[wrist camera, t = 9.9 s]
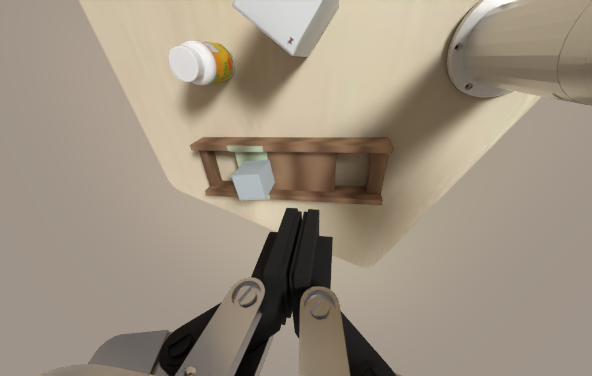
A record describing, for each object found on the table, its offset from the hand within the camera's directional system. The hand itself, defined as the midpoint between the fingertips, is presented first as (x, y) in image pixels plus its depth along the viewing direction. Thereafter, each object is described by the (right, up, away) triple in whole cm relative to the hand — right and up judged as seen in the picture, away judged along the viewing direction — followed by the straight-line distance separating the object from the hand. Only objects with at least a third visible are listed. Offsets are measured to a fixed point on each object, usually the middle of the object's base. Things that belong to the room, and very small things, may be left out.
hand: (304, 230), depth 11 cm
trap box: (-2, +7, +31) cm, 32 cm away
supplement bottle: (-13, +23, +24) cm, 35 cm away
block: (-8, +5, +30) cm, 31 cm away
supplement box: (+1, +27, +18) cm, 32 cm away
